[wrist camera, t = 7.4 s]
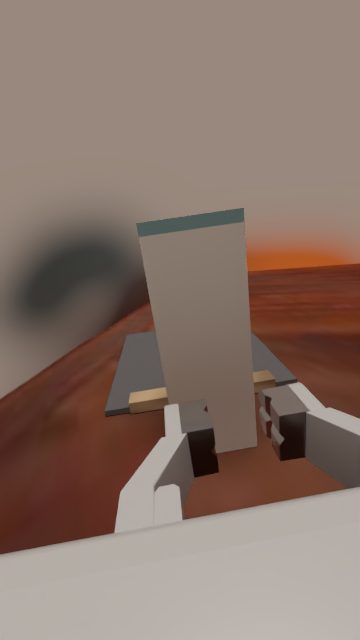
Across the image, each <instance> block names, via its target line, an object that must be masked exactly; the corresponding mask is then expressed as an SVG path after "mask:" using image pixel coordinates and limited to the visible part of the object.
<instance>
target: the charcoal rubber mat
mask: <svg viewBox="0 0 360 640" xmlns="http://www.w3.org/2000/svg"><path fill="white" fill-rule="evenodd" d="M251 346H252V363H253V372H259V371H265V370H268V371H269V372H270V373H271V374H272V375H273V377H274V378H275V386H276V387H279V386H285V385H288V384H292V383H297V378H296V377H295V376H294V375H293V374H292V373H291V372H290V371H289V370H288V369H287V368H286V367H285V366H284V365H283V364H282V363H281V362H280V361H279V360H278V359H277V358H276V357H275V356H274V355H273V354H272V352H271V351H270V350H269V349H268V348H267V347H266V346H265V345H264V344H263V343H262V342H261V341H260V340H259V339H258V338H257V337H256V336H255V335H254V334H253V333H252V332H251ZM163 387H166V386H165V380H164V375H163V369H162V363H161V358H160V352H159V347H158V341H157V336H156V331H150V332H144V333H138V334H132V335H127V337H126V340H125V344H124V347H123V350H122V354H121V357H120V361H119V364H118V367H117V371H116V374H115V378H114V381H113V384H112V388H111V391H110V395H109V398H108V401H107V405H106V408H105V415H106V416H111V415H117V414H123V413H129V412H130V408H129V398H130V393H133V392H139V391H145V390H151V389H157V388H163Z"/></svg>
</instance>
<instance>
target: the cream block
mask: <svg viewBox="0 0 360 640" xmlns="http://www.w3.org/2000/svg"><path fill="white" fill-rule="evenodd" d="M137 229H138V235H139V241H140V247H141V252H142V258H143V263H144V269H145V274H146V280H147V285H148V291H149V297H150V302H151V308H152V313H153V319H154V325H155V330H156V336H157V341H158V347H159V352H160V358H161V363H162V369H163V375H164V380H165V386H166V391H167V397H168V402H169V405H171V404H177V403H178V405H179V403H183V402H190V401H197V400H203V399H205V401H206V404H207V410H208V413H209V414H210V418H211V421H212V425H213V429H214V436H215V444H216V445H215V450H216V453H222V452H228V451H233V450H239V449H245V448H250V447H256V446H257V433H256V415H255V398H254V381H253V363H252V346H251V328H250V311H249V293H248V276H247V260H246V243H245V242H246V241H245V224H244V208H240V209H233V210H226V211H219V212H213V213H205V214H198V215H192V216H185V217H178V218H171V219H164V220H157V221H150V222H144V223H137Z"/></svg>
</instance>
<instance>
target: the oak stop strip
mask: <svg viewBox="0 0 360 640" xmlns="http://www.w3.org/2000/svg"><path fill="white" fill-rule="evenodd" d="M253 381H254V393H258V392H259V390H263V389H268V388H274V387H276V386H275V378H274V377H273V375H272V374H271V373H270V372H269V371H268V370H265V371H259V372H253ZM165 405H169V402H168V397H167V391H166V387H163V388H157V389H151V390H145V391H139V392H133V393H130V398H129V408H130V412H131V414H134V413H140V412H146V411H152V410H157V409H163V408H164V407H165Z"/></svg>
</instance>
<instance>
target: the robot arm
mask: <svg viewBox="0 0 360 640" xmlns="http://www.w3.org/2000/svg"><path fill="white" fill-rule="evenodd" d="M258 395H259V401H260V403H261V404H262V407H261V408H260V410H259V413H260V420H261V424H262V427H263V430H264V432H265V434H266V436H267V437H269V438H270V439H272V447H273V449H274V451H275V452H276V454H277V456H278V458H279V460H280V461H285V460H291V459H298V458H304V457H306V458H305V459H307V460H308V461H310V462H311V463H312V464H314V465H315V466H317V467H318V468H320V469H321V470H322V471H324V472H325V473H327V474H328V475H330V476H331V477H332V478H334V479H335V480H337V481H338V482H340V483H341V484H342V485H344V486H345V487H347V488H348V489H345V490H340V491H334V492H329V493H324V494H318V495H313V496H308V497H303V498H297V499H292V500H287V501H282V502H276V503H271V504H266V505H260V506H255V507H250V508H245V509H239V510H234V511H229V512H224V513H218V514H213V515H208V516H202V517H197V518H192V519H187V520H185V515H184V510H183V506H184V504H185V501H186V499H187V497H188V494H189V492H190V489H191V487H192V484H193V482H194V478H195V477H200V476H205V475H209V474H214V473H219V469H218V460H217V454H216V450H215V445H216V444H215V436H214V429H213V425H212V421H211V418H210V414H209V413H208V410H207V404H206V401H205V399H203V400H197V401H190V402H183V403H179V405H178V403H177V404H171V405H165V407H164V415H165V437H162V438H161V439H160V440H159V441H158V443H157V444H156V445H155V447H154V448H153V449H152V451H151V452H150V453H149V455H148V456H147V457H146V459H145V460H144V461H143V463H142V464H141V465H140V467H139V468H138V469H137V471H136V472H135V473H134V475H133V476H132V477H131V479H130V480H129V481H128V483H127V484H126V485H125V487H124V488H123V490H122V491H121V492H120V498H119V505H118V512H117V519H116V526H115V533H112V534H107V535H102V536H97V537H91V538H86V539H81V540H75V541H70V542H65V543H60V544H54V545H49V546H44V547H38V548H33V549H28V550H22V551H17V552H12V553H7V554H1V555H0V640H360V419H359V418H356V417H353V416H351V415H348V414H346V413H343V412H340V411H338V410H335V409H332V408H325V407H324V406H323V405H322V404H321V403H320V402H319V401H318V400H317V399H316V398H315V397H314V396H313V395H312V394H311V393H310V392H309V391H308V390H307V389H306V387H305V386H304V385H303V384H302V383H299V382H297V383H292V384H288V385H285V386H279V387H274V388H268V389H263V390H259V394H258Z"/></svg>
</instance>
